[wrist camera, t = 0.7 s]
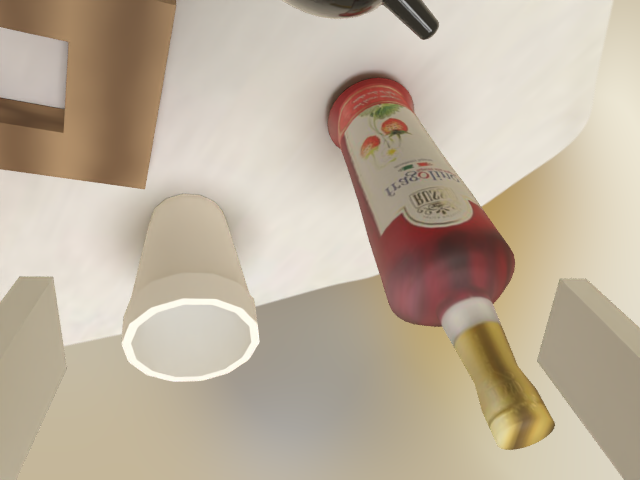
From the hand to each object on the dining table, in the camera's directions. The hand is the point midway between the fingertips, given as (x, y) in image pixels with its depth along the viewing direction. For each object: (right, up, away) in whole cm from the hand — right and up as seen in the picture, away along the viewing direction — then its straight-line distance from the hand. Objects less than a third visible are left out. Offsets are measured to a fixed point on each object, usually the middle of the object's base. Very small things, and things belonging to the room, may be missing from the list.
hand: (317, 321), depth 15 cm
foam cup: (-11, +4, +35) cm, 37 cm away
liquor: (+4, +13, +30) cm, 33 cm away
